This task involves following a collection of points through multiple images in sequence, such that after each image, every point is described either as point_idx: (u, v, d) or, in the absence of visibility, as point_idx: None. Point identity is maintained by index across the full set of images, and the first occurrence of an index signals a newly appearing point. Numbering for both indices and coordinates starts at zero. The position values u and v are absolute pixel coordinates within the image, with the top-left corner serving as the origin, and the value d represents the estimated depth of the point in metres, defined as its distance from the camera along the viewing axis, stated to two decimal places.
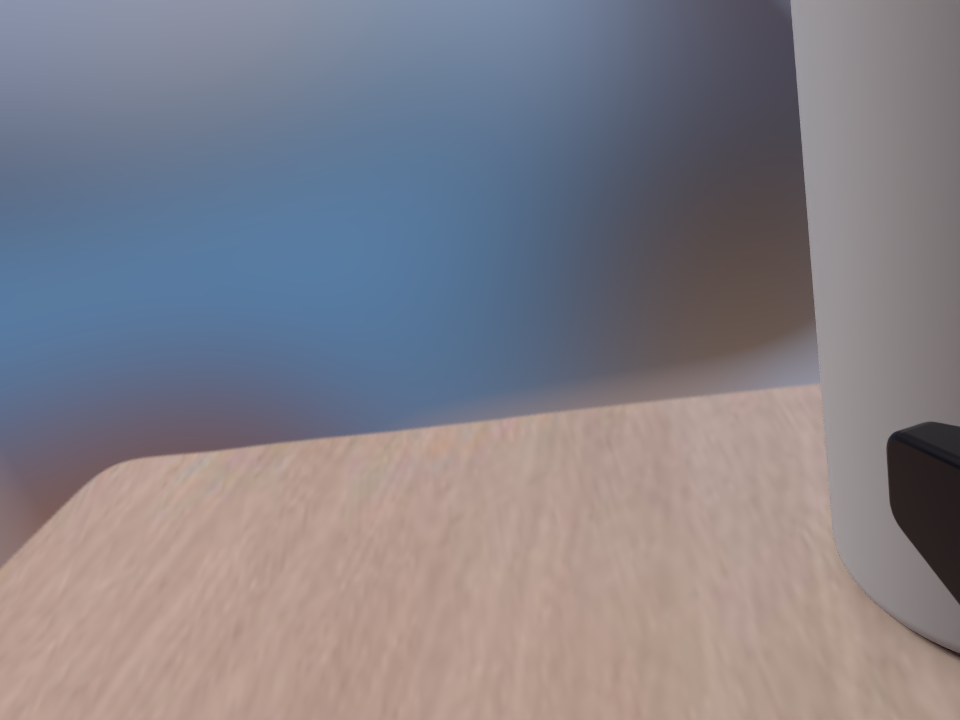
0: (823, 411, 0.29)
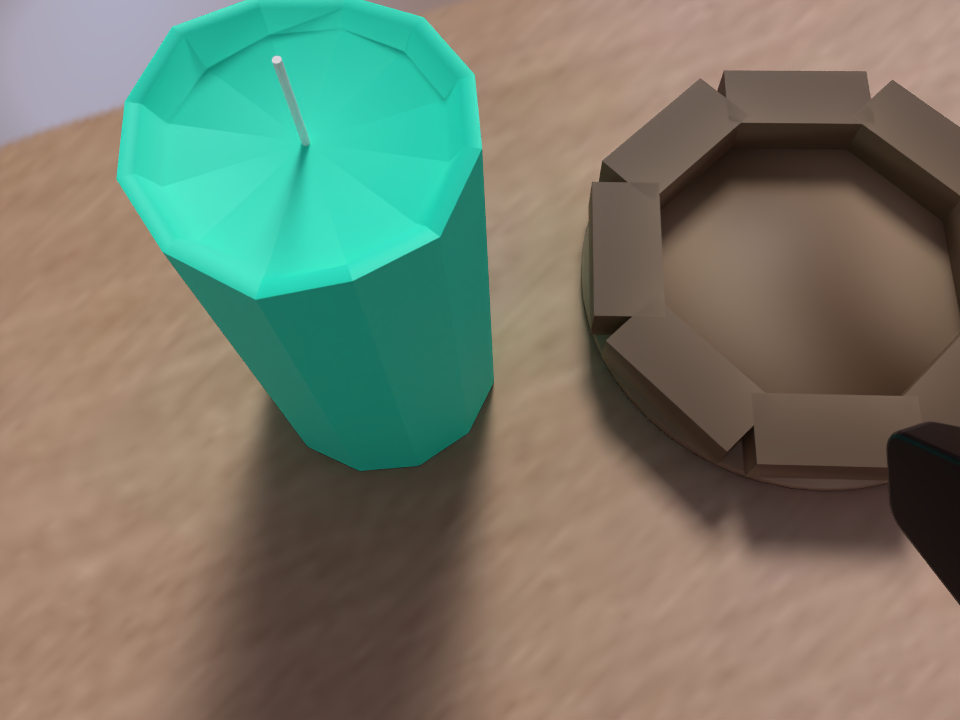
0: None
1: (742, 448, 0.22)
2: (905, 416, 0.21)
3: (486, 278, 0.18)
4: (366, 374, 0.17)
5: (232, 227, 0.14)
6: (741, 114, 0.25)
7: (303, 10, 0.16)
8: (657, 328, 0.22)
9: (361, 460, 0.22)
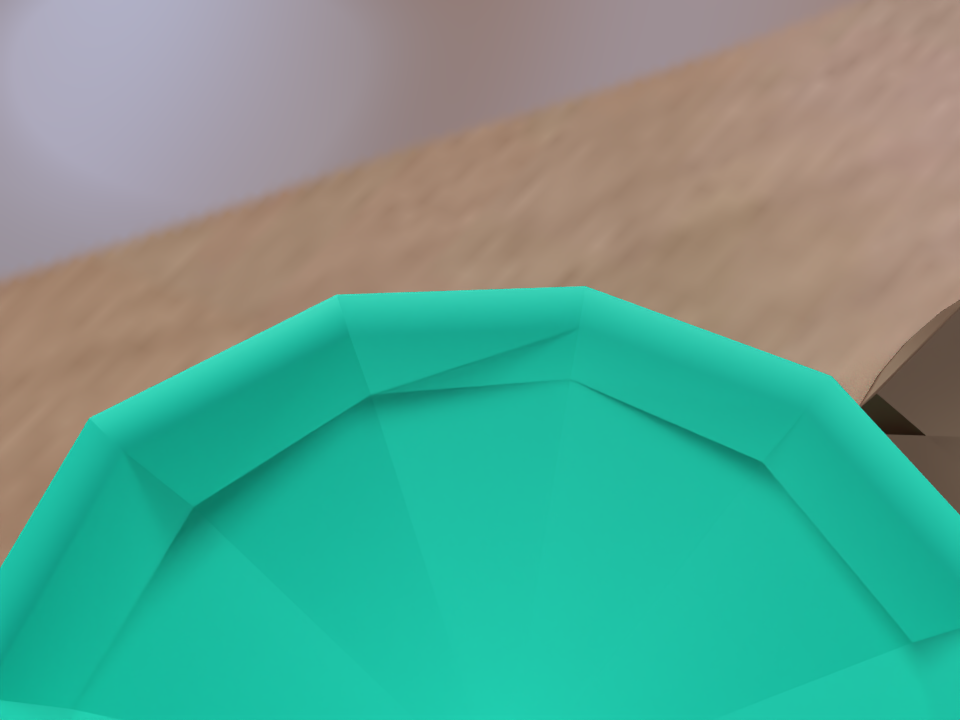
0: None
1: None
2: None
3: None
4: None
5: None
6: None
7: (468, 337, 0.05)
8: None
9: None
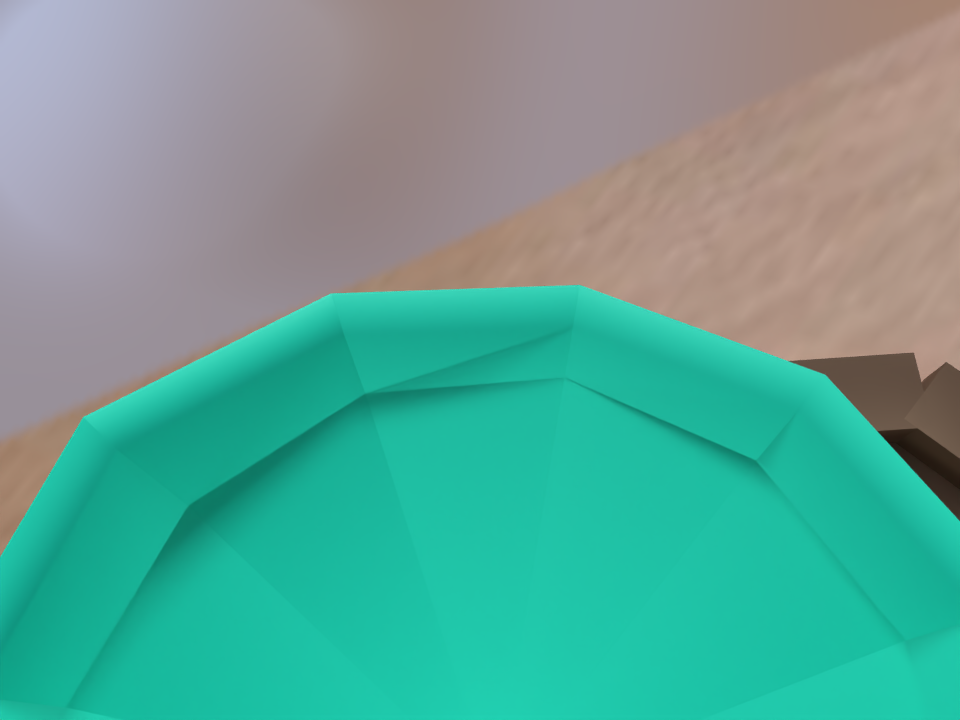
0: None
1: None
2: None
3: None
4: None
5: None
6: None
7: (463, 334, 0.05)
8: None
9: None
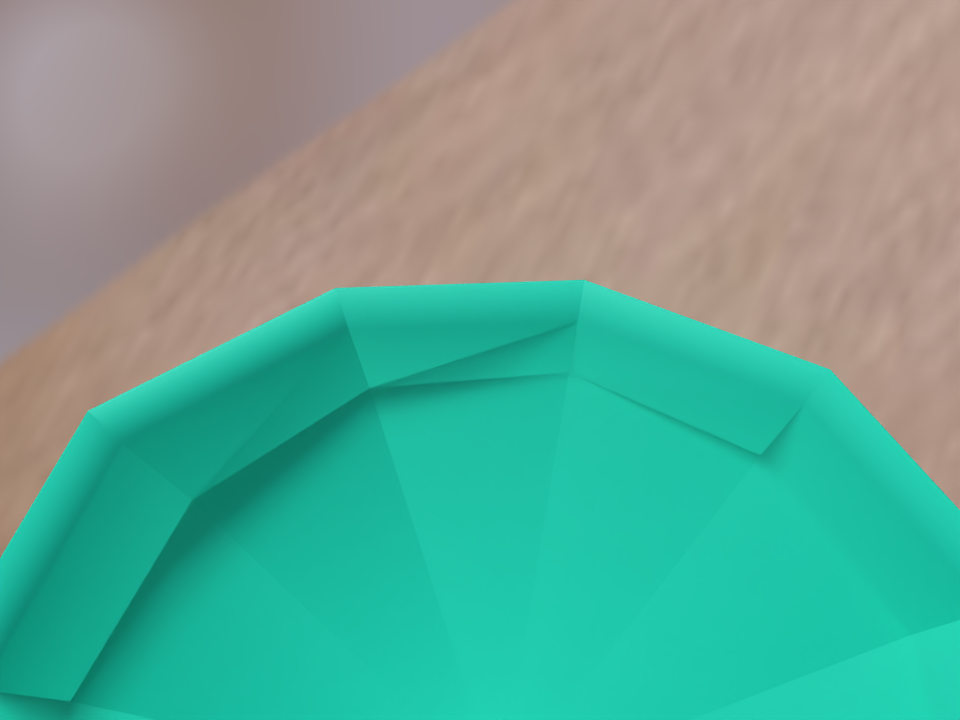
0: None
1: None
2: None
3: None
4: None
5: None
6: None
7: (466, 329, 0.05)
8: None
9: None
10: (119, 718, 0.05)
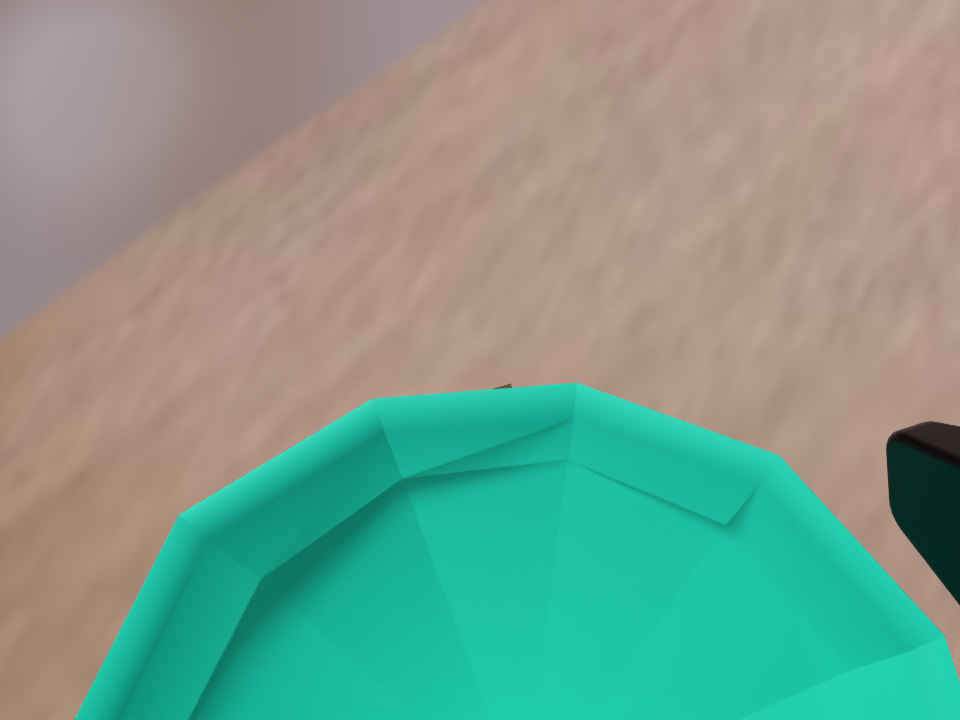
0: None
1: None
2: None
3: None
4: None
5: None
6: None
7: (484, 429, 0.07)
8: None
9: None
10: None
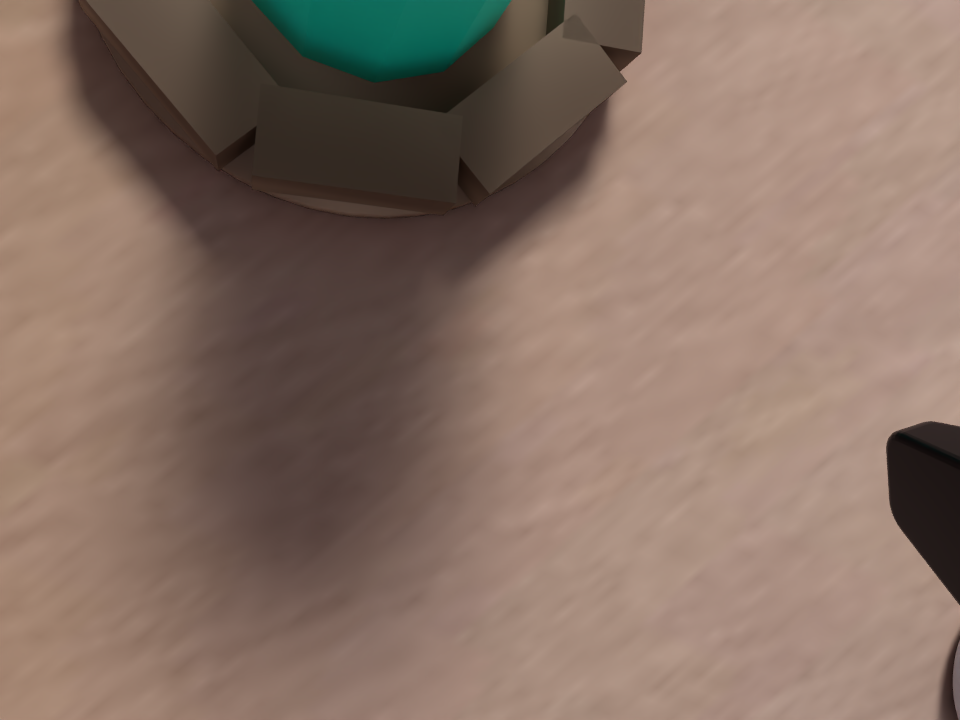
0: None
1: (254, 154, 0.18)
2: (443, 138, 0.18)
3: None
4: None
5: None
6: None
7: None
8: None
9: (315, 42, 0.18)
10: None
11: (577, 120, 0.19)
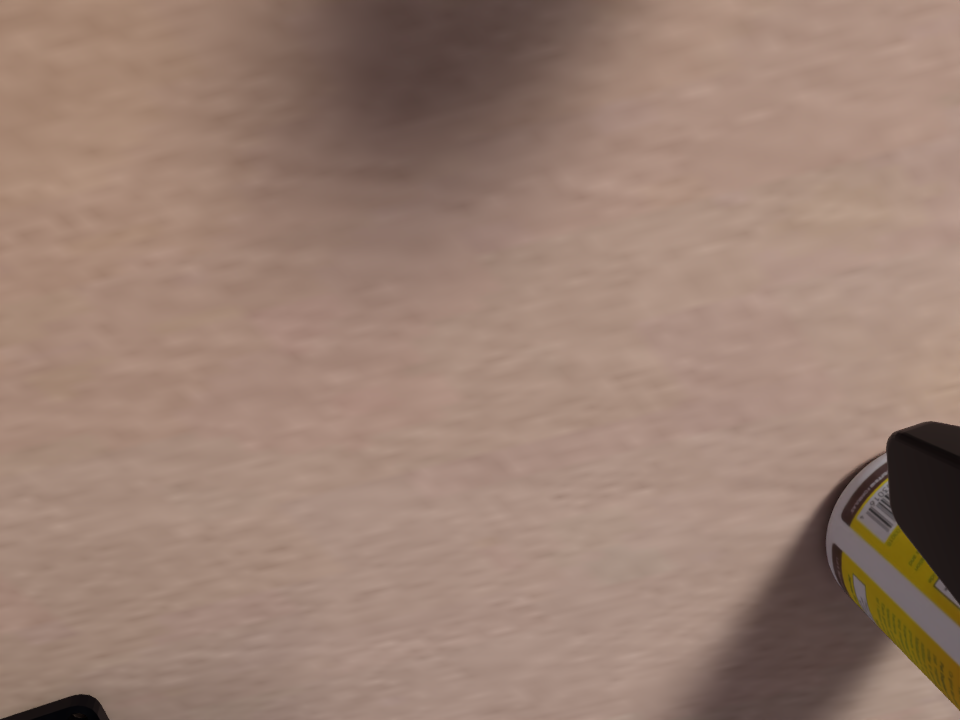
0: None
1: None
2: None
3: None
4: None
5: None
6: None
7: None
8: None
9: None
10: None
11: None
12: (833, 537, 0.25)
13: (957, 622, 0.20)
